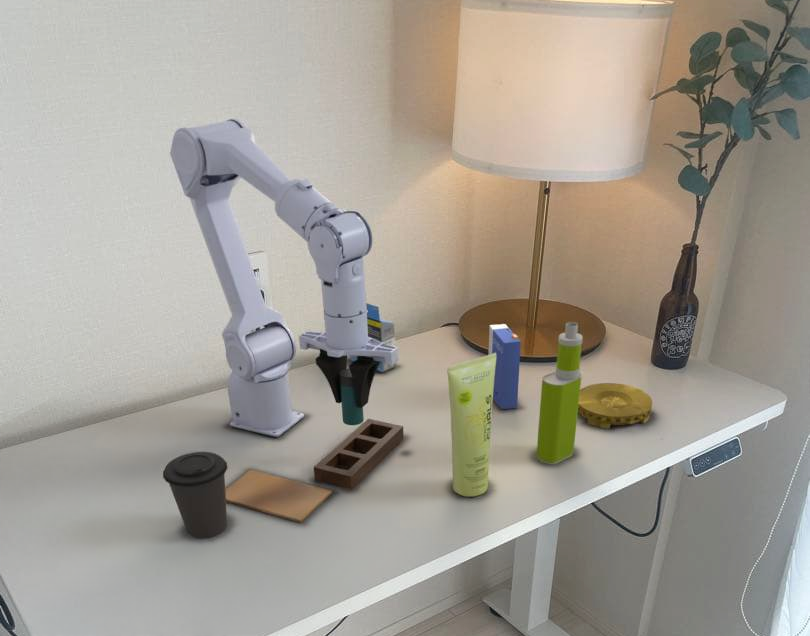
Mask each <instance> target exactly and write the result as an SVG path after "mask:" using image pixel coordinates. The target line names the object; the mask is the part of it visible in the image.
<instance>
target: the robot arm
mask: <svg viewBox="0 0 810 636" xmlns="http://www.w3.org/2000/svg"><path fill="white" fill-rule="evenodd" d="M169 155H170V158H171V160H172V164H173V166H174V170H175V172H176V175H177V178H178V181H179V183H180V185H181V188H182V191H183V193H184V196H185V197H186V198H189V201H190V204H191V206H192V208H193V212H194V214H195V217H196V220H197V223H198V225H199V228H200V231H201V234H202V237H203V239H204V242H205V245H206V247H207V250H208V253H209V256H210V259H211V261H212V264H213V267H214V269H215V273H216V275H217V278H218V281H219V284H220V286H221V289H222V292H223V294H224V297H225V300H226V303H227V306H228V308H229V311H230V315H231V316H230V318H229V320H228V322H227V324H226V326H225V327H224V329H223V330H222V333H221V336H222V340H223V344H224V348H225V358H226V361H227V365H228V366H229V368H230V370H231V371H230V372H231V373H230V374H229V377H228V380H227V395H228V400H229V406H230V412H231V418H232V421H231V422H230V423H229V425H230V426H229V427H233V428H237V429H241V430H244V431H245V430H246V431H250V432H254V433H258V434H263V435H266V436H270V437H274V438H278V437H280V436H281V435H283V434H284V433H285V432H287V431H288V430H289V429H290V428H291V427H293V426H295V424H296V423H298V422H299V421H301V419H303V418H305V413H304V412H299V411H295V410H293V405H292V403H293V402H292V396H291V389H290V381H289V379H290V378H289V372H288V370H289V369H291V368H292V364H291V361H293V360H294V359H295V357H296V355H297V343H296V338H295V336H294V334H293V332H292V331H291V329H289V327H288V325H287V323H286V320H285V318H284V316H283V314H282V313H281V312H280V311H278V310H276V309H274V308H271V307H269V306H268V305H266V303H265V301H264V297H263V294H262V291H261V288H260V286H259V282H258V279H257V276H256V274H255V271H254V267H253V265H252V262H251V259H250V256H249V254H248V250H247V248H246V245H245V242H244V239H243V236H242V233H241V230H240V227H239V224H238V221H237V219H236V216H235V213H234V209H233V207H232V204H231V202H230V196H231V193H232V190H233V188H234V187H235V186H236V185H237V184H238V183H239V182H240V180H241V179H242V180H243V181H245V182H246V183H248V184H249V185H250V186H252V187H253V188H255V189H256V190H258V191H259V192H260V193H262V194H263V195H265V196H266V197H267V198H268V199H270V200H271V201H272V202H273V203H274V211H275V214H276V216H277V217H278V218H279V219H280V220H281V221H282V222H284V224H286V225H287V226H288V227H289V228H291V229H292V230H293V231H294V232H295V233H297V235H299V236H300V237H301V238H302V239H303V240H304V241H305V242H306V243H307V249H308V251H309V254H310V256H311V258H312V260H313V262H314V264H315V270H316V271H315V272H316V275H317V276H318V280H320V284H321V296H322V307H323V319H324V328H325V329H324V331H325V332H323V331H309V330H305V331H304V332H303V333H301V334H300V335H298V341H299V349H300V350H303V351H304V350H305V351H306V350H309V349H312V350H317V351H319V353H318V356H317V357H316V358H315V365H316V366H317V367H318V369H319V370H320V371H321V373H322V374H323V376H324V377H325V379H326V380H327V382H328V385H329V387H330V390H331V393H332V395H333V398H334V401H335V403H336V404H342V403H341V391H340V378H339V373H340V371H342V370H344V369H347V366H348V369H350V372H351V374H352V378H353V381H354V386H355V397H356V404H357V407H359V408H362V407H363V408H364V407H365V406H366V405H367V404H368V403H369V398H370V393H371V388H372V384H373V381H374V378H375V376H376V373H377V368H378V366H379V364H380V362H385V364H386V365H390V366H392V365H393V364H395V363H396V364H397V362H398V361H399V348H398V346H396V345H395V346H391V345H387V344H385V343H382V342H380V341H377V340H375V339H372V338H370V337H368V326H367V312H368V311H367V307H366V303H367V292H366V291H367V289H366V275H365V274H366V273H365V271H366V270H365V257H366V256H367V255H368V254H369V253H370V252H371V249H372V247H373V242H374V241H373V232H372V228H371V226H370V224H369V222H368V220H367V219H366V218H365V216H363V214H362V213H361V212H360V211H359V210H355V209H349V210H346V209H344V208H339V207H338V205H336V204H335V203H334V202H331V200H329V199H328V198H327V197H326V196H324V195H323V194H322V193H321V192H320V191H318V190H317V189H316V188H315V187H314V183H313V182H311V181H310V180H309V179H308V178H305V179H303V178H293V179H290V178H289V177H288V176H287V174H285V172H283V170H281V169H280V168H279V167H278V165H277V164H275V162H273V161H272V160H271V158H269V157H268V155H266V154H265V153H264V152H263V150H261V148H259V147H258V145H257V143H256V138H255V134H254V132H253V131H252V130H251V128H248V127H247V126H246V125H245V124H244V123H243V121H241V120H240V119H238V118H230V119H227V120H224V121H219V122H213V123H208V124H203V125H198V126H192V127H180V128H178V129H176V130H175V132H174V134H173V137H172V142H171V147H170V152H169ZM258 328H259V329H258ZM256 329H257V330H256ZM251 331H252V332H251ZM350 356H354V357H357V360H355V361H354V362H353V361H352V362H351V363H350V364H348V357H350Z"/></svg>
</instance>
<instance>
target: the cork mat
mask: <svg viewBox="0 0 810 636" xmlns="http://www.w3.org/2000/svg"><path fill="white" fill-rule="evenodd" d="M225 493H226V503H231V504H233V505H236V506H237V505H238V506H242V507H244V508H248V509H252V510H255V511H258V512H262V513H266V514H269V515H272V516H276V517H280V518H283V519H287V520H291V521H294V522H297V523H302V522H303V521H305V519H307V517H309V516H311V514H312V513H313V512H314V511H315V510H316V509H317V508H318V507H320V506H321V504H322V503H324V501H326V500H327V499H328V498H329V496H331V495H332V494H333V491H332V490H331V489H326V488H323V487H318V486H315V485H311V484H307V483H304V482H300V481H296V480H292V479H288V478H284V477H281V476H277V475H273V474H269V473H265V472H261V471H258V470H253V469H249V470H247V472H245V473H244V474H243V475H241V476H240V477H238V479H237V480H235V481H234V482H233V483H232V484H230V485H229V486H228V487H226V488H225Z"/></svg>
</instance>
